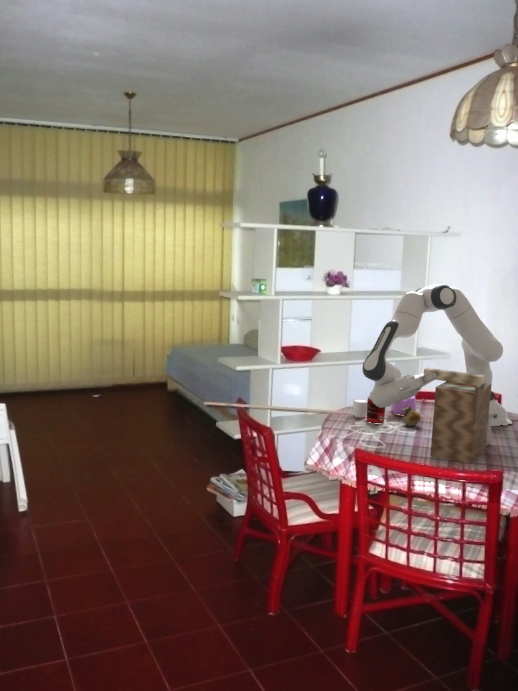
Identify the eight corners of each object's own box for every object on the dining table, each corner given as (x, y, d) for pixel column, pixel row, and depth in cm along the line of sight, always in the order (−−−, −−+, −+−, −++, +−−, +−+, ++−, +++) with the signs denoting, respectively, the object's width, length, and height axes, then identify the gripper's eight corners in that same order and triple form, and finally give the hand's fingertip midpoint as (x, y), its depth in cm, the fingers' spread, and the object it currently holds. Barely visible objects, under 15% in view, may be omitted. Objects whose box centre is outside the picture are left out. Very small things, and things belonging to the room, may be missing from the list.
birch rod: (423, 378, 261) (424, 369, 261) (426, 376, 264) (427, 367, 263) (481, 386, 250) (482, 376, 249) (483, 384, 253) (484, 375, 252)
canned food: (383, 419, 297) (384, 395, 295) (384, 424, 289) (386, 399, 287) (365, 418, 298) (367, 394, 296) (366, 423, 290) (368, 398, 288)
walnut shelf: (430, 455, 250) (436, 381, 245) (446, 442, 266) (452, 373, 262) (471, 464, 242) (477, 387, 237) (485, 450, 258) (491, 378, 254)
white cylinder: (363, 418, 298) (364, 403, 297) (349, 416, 302) (350, 400, 300) (370, 415, 304) (370, 400, 303) (356, 413, 307) (356, 398, 306)
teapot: (392, 407, 319) (394, 386, 318) (415, 409, 317) (417, 388, 315) (391, 417, 302) (393, 395, 300) (415, 419, 300) (417, 397, 298)
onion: (404, 428, 285) (406, 409, 284) (399, 422, 293) (401, 405, 292) (422, 428, 286) (423, 410, 284) (416, 423, 294) (418, 405, 292)
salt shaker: (473, 442, 268) (476, 410, 266) (487, 442, 269) (490, 410, 267) (479, 446, 263) (482, 414, 261) (494, 446, 263) (496, 414, 261)
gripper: (394, 383, 258) (426, 370, 251) (413, 375, 276) (443, 362, 268) (401, 398, 258) (433, 385, 250) (419, 389, 275) (450, 376, 267)
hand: (438, 373), depth 259 cm, fingers closed on birch rod, 3 cm apart
